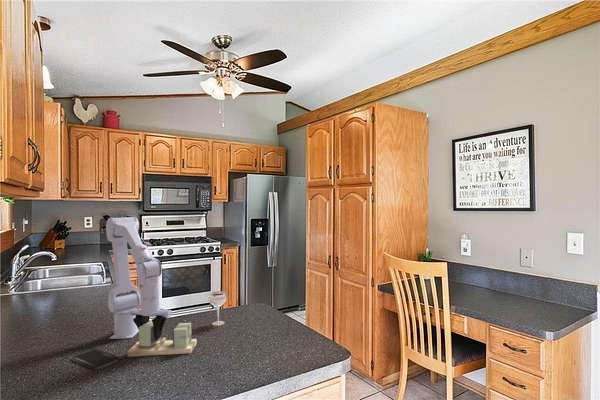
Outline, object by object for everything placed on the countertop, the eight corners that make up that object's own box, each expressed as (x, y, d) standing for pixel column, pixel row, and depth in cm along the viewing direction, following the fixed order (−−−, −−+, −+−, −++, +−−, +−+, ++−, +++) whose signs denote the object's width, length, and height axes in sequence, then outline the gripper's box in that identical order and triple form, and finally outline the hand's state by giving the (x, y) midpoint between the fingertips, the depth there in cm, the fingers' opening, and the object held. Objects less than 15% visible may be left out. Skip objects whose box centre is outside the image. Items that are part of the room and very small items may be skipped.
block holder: (137, 346, 119) (137, 324, 119) (196, 343, 120) (196, 321, 120) (127, 356, 111) (126, 333, 111) (190, 353, 112) (190, 330, 112)
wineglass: (214, 327, 135) (213, 296, 135) (206, 323, 140) (206, 293, 140) (230, 323, 139) (229, 293, 139) (222, 319, 144) (221, 290, 144)
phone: (96, 368, 102) (70, 357, 110) (96, 372, 102) (71, 360, 110) (122, 357, 109) (96, 348, 117) (122, 361, 109) (96, 351, 117)
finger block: (138, 345, 113) (139, 327, 113) (150, 338, 119) (150, 320, 119) (151, 346, 112) (151, 328, 112) (162, 339, 118) (162, 322, 118)
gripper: (176, 294, 118) (177, 334, 118) (138, 293, 121) (139, 332, 121) (163, 300, 111) (165, 342, 111) (124, 298, 114) (125, 340, 114)
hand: (151, 337), depth 115 cm, fingers closed on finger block, 5 cm apart
